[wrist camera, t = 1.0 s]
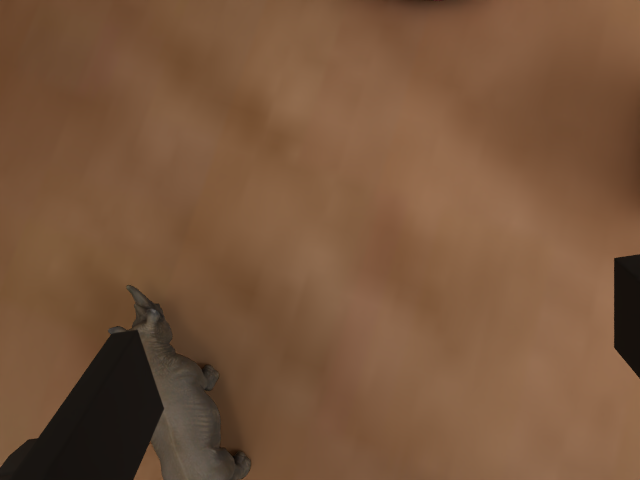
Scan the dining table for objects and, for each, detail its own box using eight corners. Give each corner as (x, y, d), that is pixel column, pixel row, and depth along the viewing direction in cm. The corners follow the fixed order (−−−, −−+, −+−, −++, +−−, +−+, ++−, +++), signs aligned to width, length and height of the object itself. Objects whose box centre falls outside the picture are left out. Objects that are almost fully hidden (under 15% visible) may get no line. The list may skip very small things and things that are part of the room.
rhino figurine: (180, 269, 38) (138, 270, 32) (263, 468, 37) (234, 507, 31) (127, 294, 39) (75, 299, 33) (206, 492, 37) (167, 535, 31)
